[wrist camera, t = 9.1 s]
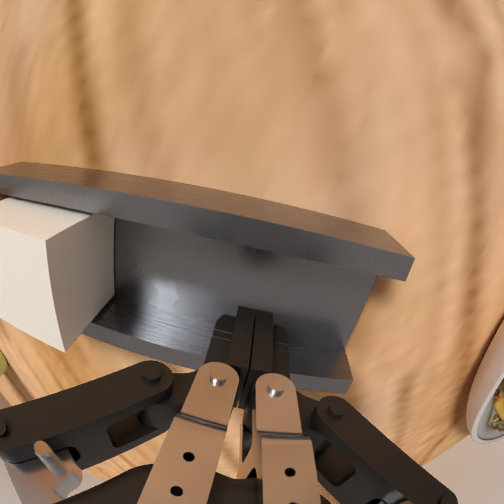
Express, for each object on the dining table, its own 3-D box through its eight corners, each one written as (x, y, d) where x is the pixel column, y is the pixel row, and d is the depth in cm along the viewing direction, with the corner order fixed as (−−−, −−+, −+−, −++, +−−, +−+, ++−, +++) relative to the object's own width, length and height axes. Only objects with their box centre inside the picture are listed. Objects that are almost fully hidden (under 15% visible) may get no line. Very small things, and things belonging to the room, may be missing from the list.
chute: (385, 230, 15) (434, 278, 10) (335, 351, 19) (350, 419, 13) (21, 161, 15) (-40, 179, 9) (27, 270, 18) (-19, 305, 13)
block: (115, 203, 14) (45, 240, 9) (114, 294, 17) (65, 352, 11) (33, 188, 14) (-33, 214, 9) (39, 268, 17) (-14, 309, 11)
